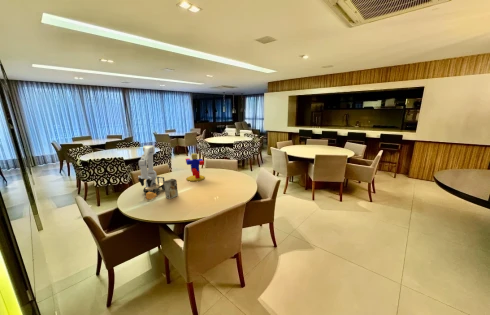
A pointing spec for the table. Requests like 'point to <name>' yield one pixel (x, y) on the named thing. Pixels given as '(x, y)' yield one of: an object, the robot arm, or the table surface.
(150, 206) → the table surface
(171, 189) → the coffee box
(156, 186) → the wooden toy car
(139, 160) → the robot arm
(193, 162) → the figurine
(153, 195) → the block
